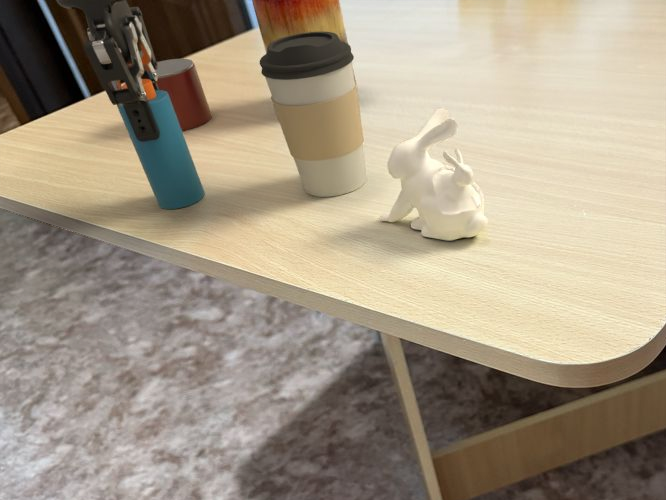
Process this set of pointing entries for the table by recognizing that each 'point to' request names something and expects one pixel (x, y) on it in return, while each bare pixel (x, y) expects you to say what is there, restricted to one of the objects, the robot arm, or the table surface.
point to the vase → (298, 18)
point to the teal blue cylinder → (166, 154)
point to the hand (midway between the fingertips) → (154, 128)
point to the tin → (184, 91)
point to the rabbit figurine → (436, 185)
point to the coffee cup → (318, 110)
